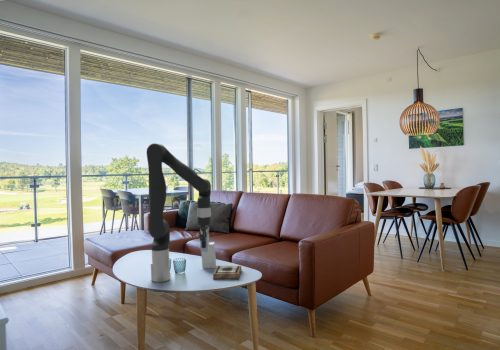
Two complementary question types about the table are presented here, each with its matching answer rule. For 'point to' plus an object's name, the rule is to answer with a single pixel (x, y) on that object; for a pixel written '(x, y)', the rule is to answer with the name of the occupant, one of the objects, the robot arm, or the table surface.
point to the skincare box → (209, 257)
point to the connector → (206, 244)
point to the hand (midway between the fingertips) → (204, 246)
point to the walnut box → (227, 272)
